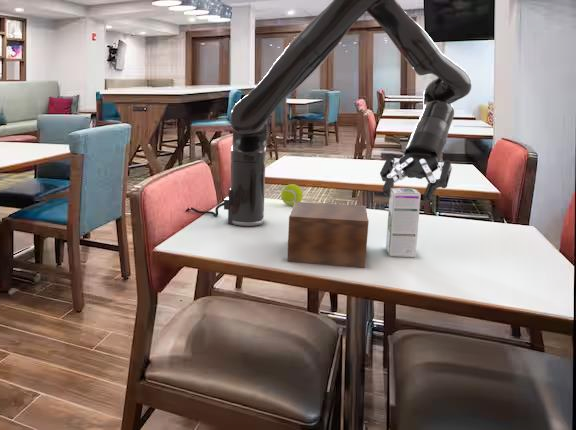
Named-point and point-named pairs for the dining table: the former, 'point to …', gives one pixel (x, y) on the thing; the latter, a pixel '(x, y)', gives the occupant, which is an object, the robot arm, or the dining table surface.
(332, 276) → the dining table surface
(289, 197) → the tennis ball
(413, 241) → the syrup box
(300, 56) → the robot arm
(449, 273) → the dining table surface
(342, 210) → the wooden box
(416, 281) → the dining table surface
